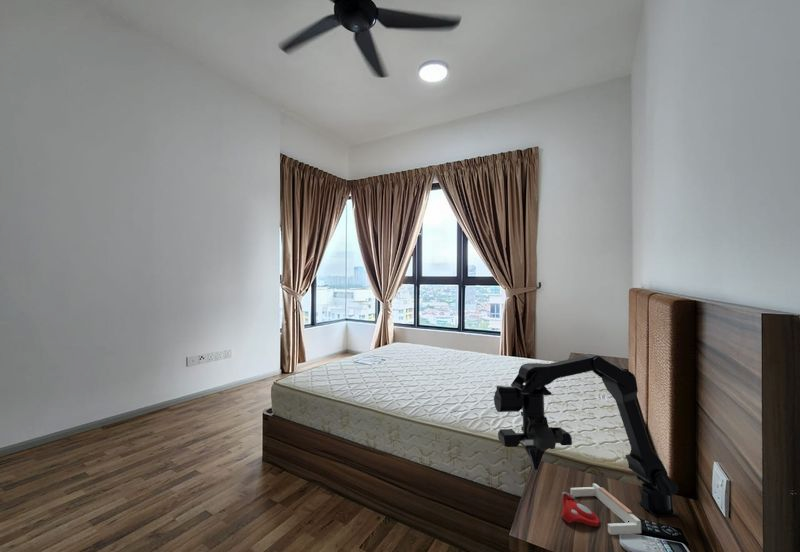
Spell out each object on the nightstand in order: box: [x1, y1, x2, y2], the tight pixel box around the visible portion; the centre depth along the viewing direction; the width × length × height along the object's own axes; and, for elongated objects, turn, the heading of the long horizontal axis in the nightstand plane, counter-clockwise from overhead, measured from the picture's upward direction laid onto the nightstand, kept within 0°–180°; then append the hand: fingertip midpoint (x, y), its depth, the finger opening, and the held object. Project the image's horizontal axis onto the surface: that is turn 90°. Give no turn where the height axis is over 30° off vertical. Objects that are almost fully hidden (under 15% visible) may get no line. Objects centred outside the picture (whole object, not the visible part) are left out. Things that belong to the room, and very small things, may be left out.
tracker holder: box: [560, 491, 600, 527], centre depth 93 cm, size 12×4×10 cm
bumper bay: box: [569, 482, 642, 536], centre depth 95 cm, size 8×18×3 cm, turn 3°
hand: (535, 469), depth 94 cm, fingers closed
